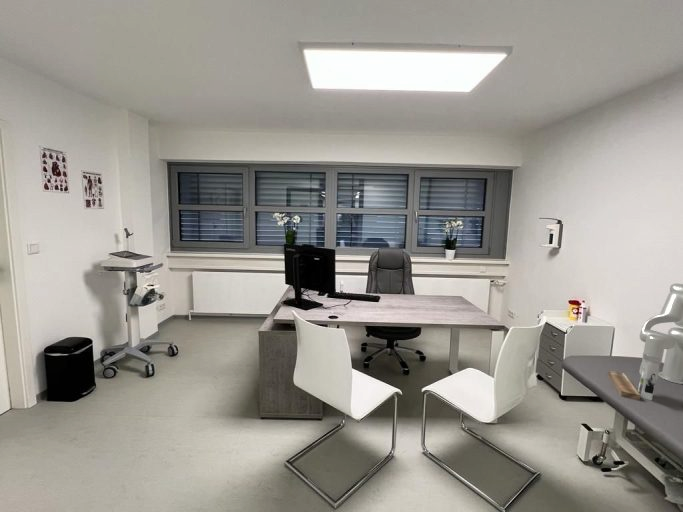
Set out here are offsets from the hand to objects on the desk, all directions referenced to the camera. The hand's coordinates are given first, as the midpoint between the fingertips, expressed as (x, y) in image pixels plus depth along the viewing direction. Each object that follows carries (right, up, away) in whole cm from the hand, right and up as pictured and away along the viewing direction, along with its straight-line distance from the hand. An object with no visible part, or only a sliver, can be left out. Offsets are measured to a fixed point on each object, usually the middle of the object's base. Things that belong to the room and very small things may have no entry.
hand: (646, 389), depth 180 cm
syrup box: (0, -5, +1) cm, 5 cm away
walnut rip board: (-4, -3, +10) cm, 11 cm away
